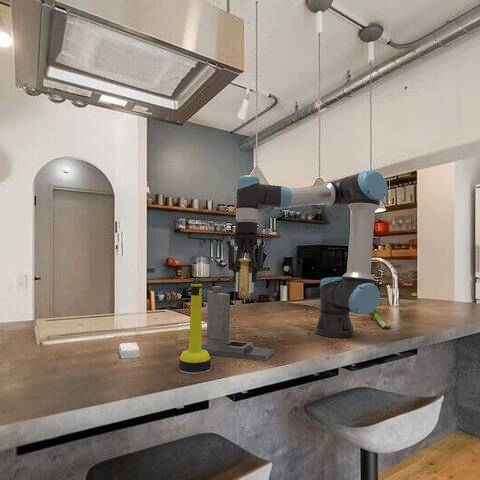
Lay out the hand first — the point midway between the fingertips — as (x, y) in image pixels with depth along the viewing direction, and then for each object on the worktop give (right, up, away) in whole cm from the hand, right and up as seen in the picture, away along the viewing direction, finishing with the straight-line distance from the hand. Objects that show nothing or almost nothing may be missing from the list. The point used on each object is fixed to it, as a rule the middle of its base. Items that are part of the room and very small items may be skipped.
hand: (244, 291), depth 119 cm
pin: (0, -2, 0) cm, 2 cm away
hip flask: (-10, -20, +15) cm, 27 cm away
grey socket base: (-3, -19, -4) cm, 20 cm away
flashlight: (-14, -19, -20) cm, 31 cm away
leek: (+66, -24, +53) cm, 88 cm away
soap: (-37, -19, -7) cm, 42 cm away
